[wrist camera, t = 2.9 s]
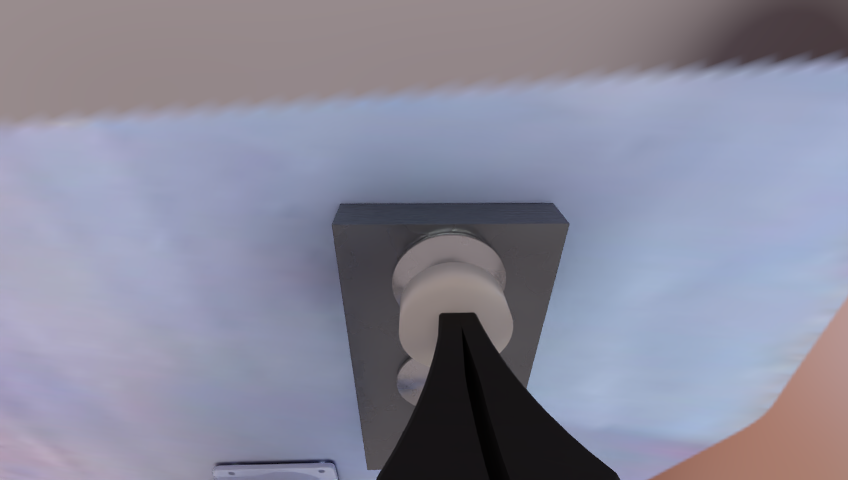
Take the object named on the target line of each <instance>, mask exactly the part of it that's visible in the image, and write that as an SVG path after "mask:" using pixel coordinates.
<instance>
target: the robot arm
mask: <svg viewBox="0 0 848 480" xmlns="http://www.w3.org/2000/svg"><path fill="white" fill-rule="evenodd" d="M212 473H213V475H214V477H215V478H214V480H338V476H337V472H336V468H335V465H334V464H332V463H299V464H261V465H222V466H216V467H215V468H214V470H213V472H212ZM376 480H620V478H619V477H618V475H617V473H616V472H614V471H613V470H612V469H611V468H609V467H608V466H607V465H606V464H604V463H603V462H602V461H601V460H599V459H598V458H597V457H595V456H594V455H593V454H592V453H591V452H589V451H588V450H587V449H586V448H585V447H584V446H582V445H581V444H580V443H579V442H578V441H577V440H576V439H575V438H573V437H572V436H571V435H570V434H569V433H568V432H567V431H566V430H565V429H564V428H563V427H562V426H561V425H560V424H559V423H558V422H557V421H556V420H555V419H554V418H552V417H551V416H550V415H549V414H548V413H547V412H546V411H545V410H544V408H543V407H542V406H541V405H540V404H539V403H538V402H537V401H536V400H535V399H534V398H533V396H532V395H531V394H530V393H529V392H528V391H527V389H526V388H525V387H524V386H523V385H522V383H521V382H520V381H519V380H518V378H517V377H516V376H515V375H514V373H513V372H512V371H511V369H510V368H509V367H508V365H507V364H506V362H505V361H504V360H503V358H502V357H501V355H500V354H499V352H498V351H497V349H496V348H495V346H494V345H493V343H492V342H491V340H490V338H489V337H488V335H487V333H486V332H485V330H484V328H483V326H482V324H481V323H480V321H479V319H478V317H477V315H476V314H475V313H474V312H467V313H441V314H440V315H439V325H438V338H437V343H436V348H435V352H434V356H433V360H432V363H431V366H430V369H429V373H428V376H427V379H426V381H425V384H424V387H423V390H422V392H421V395H420V397H419V400H418V402H417V404H416V406H415V409H414V411H413V413H412V415H411V417H410V420H409V422H408V424H407V426H406V428H405V429H404V431H403V433H402V435H401V437H400V439H399V441H398V443H397V445H396V446H395V448H394V450H393V452H392V453H391V455H390V457H389V458H388V460H387V462H386V463H385V465H384V467H383V468H382V470H381V472H380V473H379V475H378V477H377V479H376Z"/></svg>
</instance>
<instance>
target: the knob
mask: <svg viewBox="0 0 848 480" xmlns="http://www.w3.org/2000/svg"><path fill="white" fill-rule="evenodd" d="M467 312H474V313H475V314H476V315H477V317H478V319H479V321H480V323H481V324H482V326H483V328H484V330H485V332H486V333H487V335H488V337H489V338H490V340H491V342H492V343H493V345H494V346H495V348H496V349H497V351H498V352H499V353H500V352H502V350H503V349H504V348H505V347H506V346H507V344H508V343H509V341H510V338H511V336H512V332H513V320H512V316H511V313H510V310H509V307H508V304H507V302H506V299H505V296H504V293H503V290H502V288H501V285H500V283H499V282H498V280H497V279H496V278H495V277H494V276H493V275H492V274H491V273H490V272H488V271H487V270H485V269H483V268H481V267H479V266H476V265H473V264H469V263H463V262H447V263H441V264H437V265H434V266H431V267H429V268H426V269H425V270H423V271H421V272H419V273H418V274H417V275H415V276H414V277H413V278H412V279H411V280H410V281H409V282H408V284H407V285H406V286H405V288H404V290H403V292H402V295H401V299H400V318H399V339H400V342H401V345H402V346H403V348H404V350H405V351H406V352H407V354H408V355H409V356H410V357H412V358H413V359H414V360H416V361H417V362H419V363H421V364H423V365H425V366H428V367H430V366H431V363H432V360H433V356H434V352H435V348H436V343H437V338H438V325H439V315H440V314H441V313H467Z"/></svg>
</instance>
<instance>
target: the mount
mask: <svg viewBox="0 0 848 480" xmlns="http://www.w3.org/2000/svg"><path fill="white" fill-rule="evenodd" d="M568 227H569V222H568V221H567V220H566V219H565V218H564V216H563V215H562V214H561V213H560V211H559V210H558V209H557V208H556V206H555V205H554V204H553V203H523V204H340V206H339V209H338V211H337V213H336V216H335V218H334V221H333V223H332V229H333V236H334V243H335V250H336V257H337V264H338V271H339V277H340V284H341V291H342V298H343V305H344V312H345V319H346V325H347V332H348V339H349V346H350V353H351V360H352V367H353V374H354V380H355V387H356V394H357V401H358V408H359V415H360V422H361V429H362V435H363V442H364V449H365V456H366V463H367V470H382V468H383V467H384V465H385V463H386V462H387V460H388V458H389V457H390V455H391V453H392V452H393V450H394V448H395V446H396V445H397V443H398V441H399V439H400V437H401V435H402V433H403V431H404V429H405V428H406V426H407V424H408V422H409V420H410V417H411V415H412V413H413V411H414V409H415V406H416V404H417V402H418V400H419V397H420V395H421V392H422V390H423V387H424V384H425V381H426V379H427V376H428V373H429V369H430V367H428V366H425V365H423V364H421V363H419V362H417V361H416V360H414V359H413V358H412V357H410V356H409V355H408V354H407V352H406V351H405V350H404V348H403V346H402V345H401V342H400V339H399V318H400V299H401V295H402V292H403V290H404V288H405V286H406V285H407V284H408V282H409V281H410V280H411V279H412V278H413V277H414V276H415V275H417V274H418V273H419V272H421V271H423V270H425V269H426V268H429V267H431V266H434V265H437V264H441V263H447V262H463V263H469V264H473V265H476V266H479V267H481V268H483V269H485V270H487V271H488V272H490V273H491V274H492V275H493V276H494V277H495V278H496V279H497V280H498V282H499V283H500V285H501V288H502V290H503V293H504V296H505V299H506V302H507V304H508V307H509V310H510V313H511V316H512V320H513V332H512V336H511V338H510V341H509V343H508V344H507V346H506V347H505V348H504V349H503V350H502V352H500V353H499V354H500V355H501V357H502V358H503V360H504V361H505V362H506V364H507V365H508V367H509V368H510V369H511V371H512V372H513V373H514V375H515V376H516V377H517V378H518V380H519V381H520V382H521V383H522V385H523V386H524V387H525V388H527V384H528V380H529V377H530V373H531V369H532V365H533V361H534V358H535V354H536V350H537V346H538V342H539V338H540V335H541V331H542V327H543V323H544V319H545V315H546V312H547V308H548V304H549V300H550V296H551V292H552V289H553V285H554V281H555V277H556V273H557V269H558V266H559V262H560V258H561V254H562V250H563V246H564V243H565V239H566V235H567V231H568Z"/></svg>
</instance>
